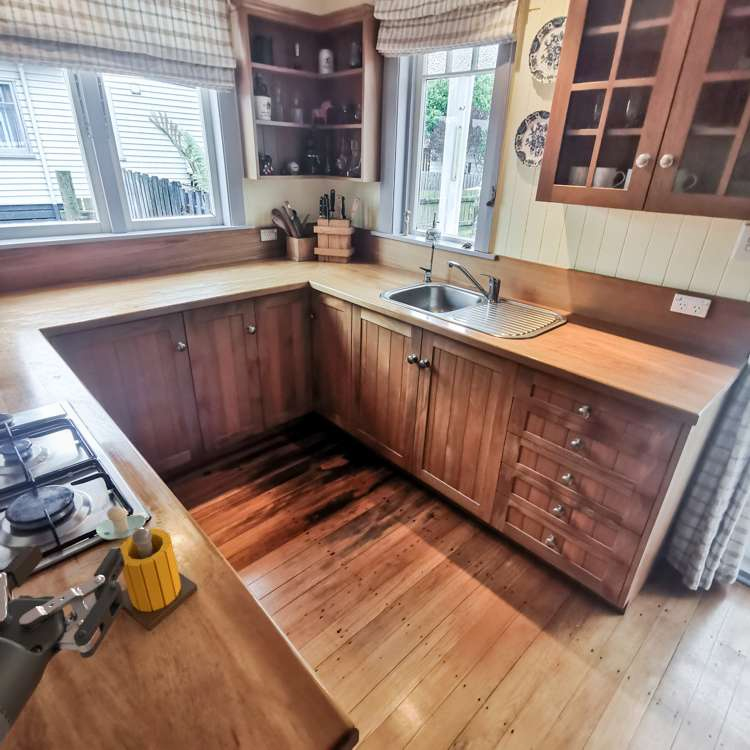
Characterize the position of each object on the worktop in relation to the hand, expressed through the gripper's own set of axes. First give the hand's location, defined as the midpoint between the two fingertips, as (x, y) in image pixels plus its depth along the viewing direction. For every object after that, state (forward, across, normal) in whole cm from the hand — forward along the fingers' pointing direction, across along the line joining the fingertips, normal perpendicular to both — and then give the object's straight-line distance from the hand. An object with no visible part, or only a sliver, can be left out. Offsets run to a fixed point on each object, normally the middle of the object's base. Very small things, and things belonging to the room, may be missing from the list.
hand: (77, 551), depth 49 cm
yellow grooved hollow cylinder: (+11, 0, +20) cm, 23 cm away
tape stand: (+11, 0, +21) cm, 24 cm away
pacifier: (+24, +11, +22) cm, 34 cm away
